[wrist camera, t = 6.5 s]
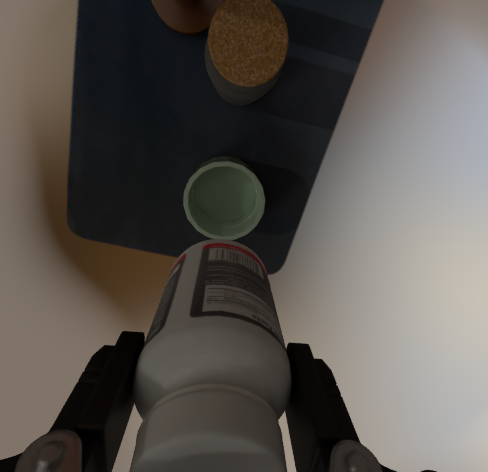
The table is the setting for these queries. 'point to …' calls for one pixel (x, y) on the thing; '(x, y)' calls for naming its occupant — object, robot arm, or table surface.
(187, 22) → the stand
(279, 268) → the table surface
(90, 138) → the table surface
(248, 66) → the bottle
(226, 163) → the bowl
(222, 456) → the pill bottle
